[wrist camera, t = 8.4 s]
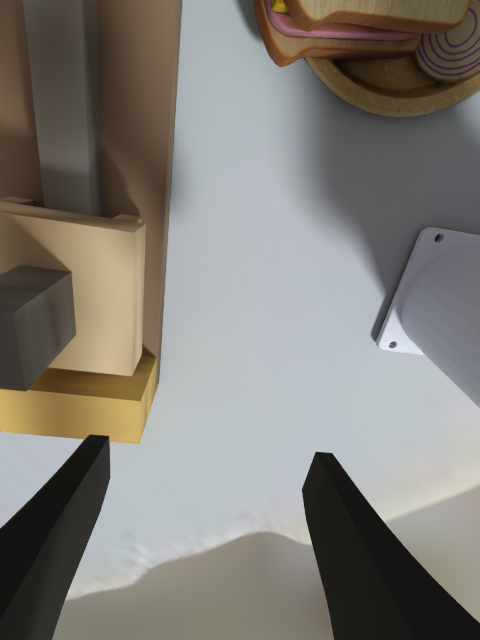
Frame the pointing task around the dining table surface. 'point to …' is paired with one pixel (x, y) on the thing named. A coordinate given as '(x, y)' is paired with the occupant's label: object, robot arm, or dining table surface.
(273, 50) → the toy sandwich meal
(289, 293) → the dining table surface
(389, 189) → the dining table surface
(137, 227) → the tan tabbed slider block
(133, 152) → the rail
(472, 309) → the robot arm
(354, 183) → the dining table surface
